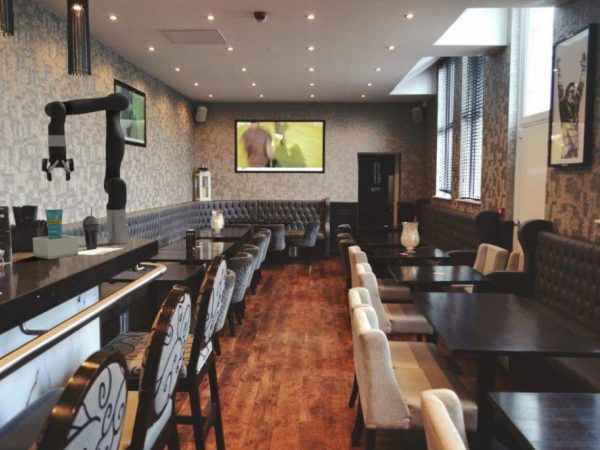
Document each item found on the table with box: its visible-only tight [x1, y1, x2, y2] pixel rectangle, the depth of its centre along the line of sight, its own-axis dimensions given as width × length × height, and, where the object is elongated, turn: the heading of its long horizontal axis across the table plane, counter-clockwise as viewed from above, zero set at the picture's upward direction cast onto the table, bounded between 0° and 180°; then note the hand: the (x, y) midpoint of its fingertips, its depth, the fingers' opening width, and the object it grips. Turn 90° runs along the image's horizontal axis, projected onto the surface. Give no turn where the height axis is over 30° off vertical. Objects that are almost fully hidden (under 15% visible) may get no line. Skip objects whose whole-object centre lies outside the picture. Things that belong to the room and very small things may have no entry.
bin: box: [32, 234, 79, 260], centre depth 234 cm, size 13×13×8 cm
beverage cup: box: [82, 206, 99, 250], centre depth 254 cm, size 7×7×20 cm
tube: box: [44, 208, 64, 240], centre depth 234 cm, size 7×5×19 cm, turn 96°
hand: (58, 180), depth 251 cm, fingers open, 8 cm apart
